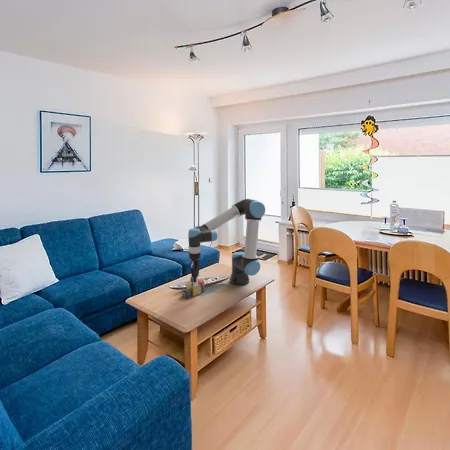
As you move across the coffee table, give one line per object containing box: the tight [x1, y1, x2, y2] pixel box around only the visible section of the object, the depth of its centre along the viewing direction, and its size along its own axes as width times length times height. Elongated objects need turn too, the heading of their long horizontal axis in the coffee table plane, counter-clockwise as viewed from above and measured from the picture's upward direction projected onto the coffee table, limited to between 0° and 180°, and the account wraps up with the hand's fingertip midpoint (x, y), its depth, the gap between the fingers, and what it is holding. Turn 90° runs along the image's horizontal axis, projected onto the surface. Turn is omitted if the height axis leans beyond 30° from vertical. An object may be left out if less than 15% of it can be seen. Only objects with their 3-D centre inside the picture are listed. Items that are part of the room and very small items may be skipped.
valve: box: [181, 281, 206, 299], centre depth 222 cm, size 18×7×10 cm, turn 134°
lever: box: [189, 276, 205, 285], centre depth 218 cm, size 12×4×2 cm, turn 45°
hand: (195, 286), depth 212 cm, fingers closed
